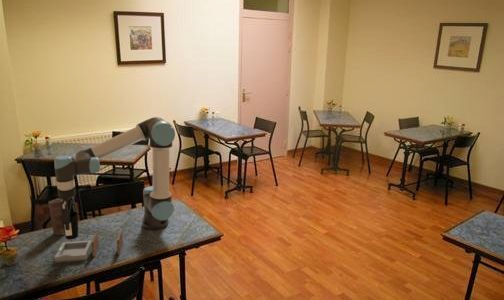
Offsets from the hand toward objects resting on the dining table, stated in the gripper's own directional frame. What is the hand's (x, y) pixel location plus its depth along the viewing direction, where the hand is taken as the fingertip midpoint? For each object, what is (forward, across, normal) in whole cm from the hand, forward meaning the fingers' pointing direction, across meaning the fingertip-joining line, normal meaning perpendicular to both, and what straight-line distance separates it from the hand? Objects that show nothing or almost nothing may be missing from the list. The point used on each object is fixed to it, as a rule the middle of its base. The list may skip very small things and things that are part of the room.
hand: (71, 230), depth 184 cm
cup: (+3, 0, 0) cm, 3 cm away
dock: (+13, 0, 0) cm, 13 cm away
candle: (+13, -23, -13) cm, 29 cm away
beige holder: (+13, -1, +16) cm, 21 cm away
